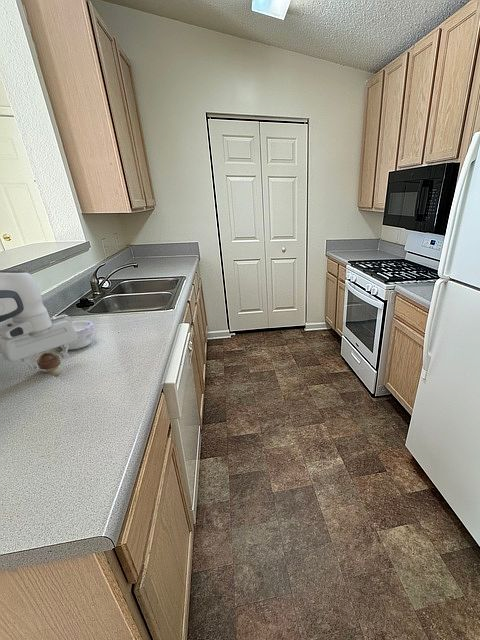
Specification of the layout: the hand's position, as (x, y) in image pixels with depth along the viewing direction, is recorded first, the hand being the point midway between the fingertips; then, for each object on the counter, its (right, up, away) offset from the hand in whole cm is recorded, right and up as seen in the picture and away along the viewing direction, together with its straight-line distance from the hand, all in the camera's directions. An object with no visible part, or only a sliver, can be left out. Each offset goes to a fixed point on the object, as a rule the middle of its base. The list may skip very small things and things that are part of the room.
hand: (50, 362), depth 108 cm
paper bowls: (-7, +7, +23) cm, 25 cm away
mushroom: (0, -4, +2) cm, 4 cm away
